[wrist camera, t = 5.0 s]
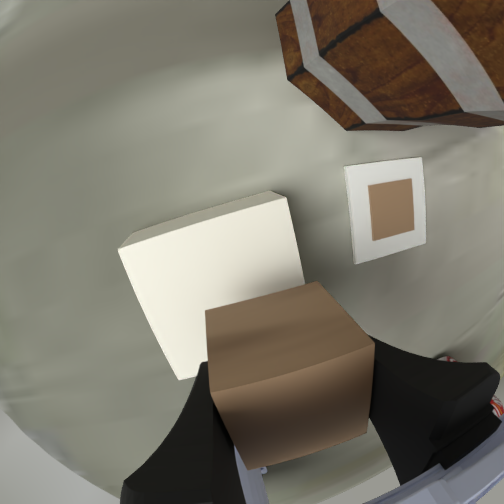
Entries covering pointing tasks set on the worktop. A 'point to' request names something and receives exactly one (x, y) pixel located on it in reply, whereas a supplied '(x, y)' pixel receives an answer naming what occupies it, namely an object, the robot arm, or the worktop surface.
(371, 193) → the card
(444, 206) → the worktop surface
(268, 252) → the cream base block
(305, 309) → the walnut cube
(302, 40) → the mug
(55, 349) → the worktop surface
